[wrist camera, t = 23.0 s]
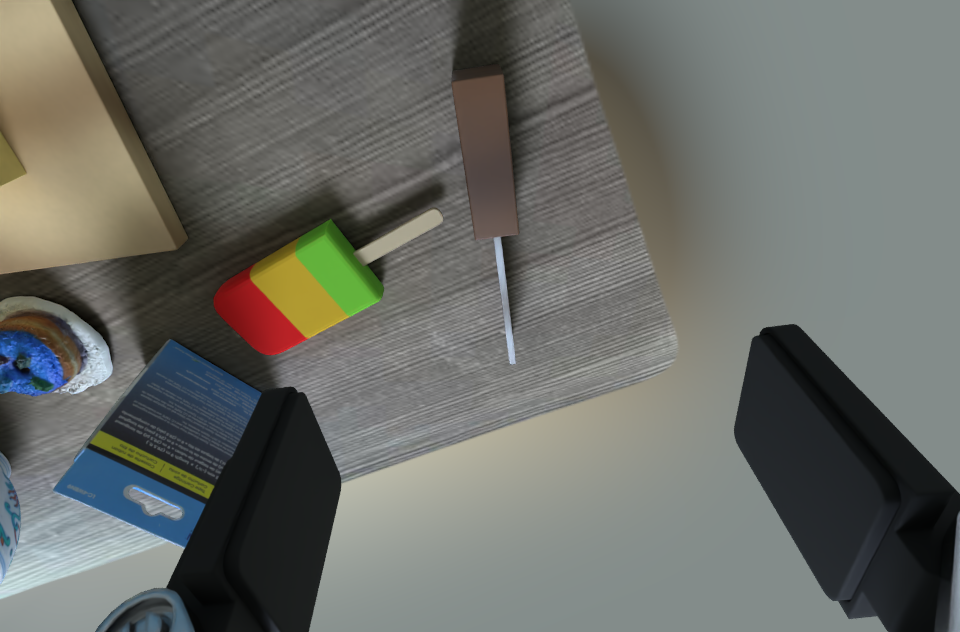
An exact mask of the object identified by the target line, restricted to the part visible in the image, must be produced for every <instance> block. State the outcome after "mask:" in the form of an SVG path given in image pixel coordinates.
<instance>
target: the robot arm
mask: <svg viewBox="0 0 960 632" xmlns="http://www.w3.org/2000/svg"><path fill="white" fill-rule="evenodd" d="M734 435H735V439H736V442H737V444H738V446H739V448H740V450H741V452H742V453H743V455H744V457H745V458H746V460H747V462H748V463H749V465H750V467H751V469H752V470H753V472H754V474H755V475H756V477H757V479H758V481H759V482H760V484H761V486H762V487H763V489H764V491H765V492H766V494H767V496H768V497H769V499H770V501H771V503H772V504H773V506H774V508H775V509H776V511H777V513H778V514H779V516H780V518H781V520H782V521H783V523H784V525H785V526H786V528H787V530H788V532H789V533H790V535H791V536H792V538H793V540H794V542H795V543H796V545H797V547H798V548H799V550H800V552H801V553H802V555H803V557H804V559H805V560H806V562H807V564H808V566H809V567H810V569H811V571H812V572H813V574H814V576H815V578H816V579H817V581H818V583H819V584H820V586H821V588H822V589H823V591H824V592H825V594H826V595H827V596H828V597H829V598H830V599H831V600H833V601H839V603H840V605H841V607H842V608H843V610H844V612H845V613H846V615H847V617H848V618H849V619H853V618H862V617H872V616H878V617H879V619H880V620H881V622H882V624H883V625H884V627H885V628H886V630H887V631H888V632H960V494H959V493H958V492H957V491H956V490H955V489H954V487H952V485H951V484H950V483H949V482H948V481H947V480H946V479H945V478H944V477H943V476H942V475H941V474H940V473H939V472H938V471H937V470H936V469H935V468H934V467H933V465H932V464H931V463H930V462H929V461H928V460H927V459H926V458H925V457H924V456H923V455H922V454H921V453H920V452H919V451H918V450H917V449H916V448H915V447H914V446H913V445H912V444H911V442H909V440H908V439H907V438H906V437H905V436H904V435H903V434H902V433H901V432H900V431H899V430H898V429H897V428H896V427H895V426H894V425H893V424H892V423H891V422H890V421H889V419H888V418H887V417H885V415H884V414H883V413H882V412H881V411H880V410H879V409H878V408H877V407H876V406H875V405H874V404H873V403H872V402H871V401H870V400H869V399H868V398H867V397H866V396H865V394H863V392H862V391H860V390H859V389H858V388H857V387H856V386H855V384H854V383H853V382H852V381H851V380H849V378H848V377H847V376H846V375H845V374H844V373H843V372H842V371H841V370H840V369H839V368H838V367H837V366H836V365H835V364H834V362H833V361H832V360H831V359H830V358H829V357H828V356H827V355H826V354H825V353H824V352H823V351H822V350H821V349H820V348H819V347H818V346H817V345H816V344H815V343H814V342H813V341H812V339H810V337H809V336H808V335H807V334H806V333H805V332H804V331H803V330H802V329H801V328H800V327H799V326H797V325H794V324H790V325H782V326H775V327H766V328H763V329H762V331H761V332H760V335H759V336H755V337H754V338H753V339H752V342H751V347H750V352H749V357H748V362H747V367H746V372H745V377H744V382H743V387H742V391H741V397H740V401H739V406H738V411H737V416H736V421H735V426H734ZM340 491H341V477H340V473H339V471H338V469H337V466H336V464H335V462H334V459H333V457H332V455H331V452H330V450H329V448H328V445H327V443H326V441H325V439H324V436H323V434H322V432H321V429H320V427H319V425H318V422H317V420H316V418H315V415H314V413H313V411H312V408H311V406H310V404H309V402H308V399H307V397H306V395H305V394H304V393H303V392H299V393H298V392H297V390H296V389H295V388H294V387H284V388H276V389H268V390H265V391H263V393H262V394H261V396H260V398H259V400H258V402H257V405H256V407H255V409H254V411H253V413H252V415H251V417H250V420H249V422H248V424H247V426H246V428H245V430H244V432H243V434H242V437H241V439H240V441H239V443H238V445H237V447H236V449H235V452H234V454H233V456H232V458H230V459H229V460H228V461H227V462H226V464H225V465H224V467H223V469H222V471H221V473H220V475H219V477H218V480H217V482H216V484H215V486H214V488H213V490H212V492H211V494H210V496H209V499H208V501H207V503H206V505H205V507H204V509H203V511H202V513H201V515H200V517H199V520H198V522H197V524H196V526H195V528H194V530H193V532H192V534H191V536H190V539H189V541H188V543H187V545H186V547H185V549H184V551H183V553H182V555H181V558H180V560H179V562H178V564H177V566H176V568H175V570H174V572H173V574H172V576H171V579H170V581H169V583H168V585H167V587H166V588H154V589H151V590H147V591H144V592H141V593H139V594H137V595H135V596H133V597H132V598H130V599H128V600H126V601H125V602H124V603H122V604H121V605H120V606H118V607H117V608H116V609H115V610H114V611H112V612H111V613H110V614H109V615H108V617H107V618H106V619H105V620H104V621H103V622H102V623H101V624H100V625H99V626H98V628H97V630H96V631H95V632H309V628H310V624H311V619H312V615H313V610H314V606H315V602H316V597H317V593H318V588H319V584H320V580H321V575H322V570H323V566H324V562H325V558H326V553H327V549H328V544H329V540H330V536H331V531H332V526H333V522H334V518H335V514H336V509H337V505H338V500H339V496H340Z"/></svg>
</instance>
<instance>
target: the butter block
mask: <svg viewBox="0 0 960 632" xmlns="http://www.w3.org/2000/svg"><path fill="white" fill-rule="evenodd" d="M26 174H27V173H26V171H25V170H24V168H23V166H22V165H21V163H20V162H19V160H18V159H17V157H16V155H15V154H14V152H13V151H12V149H11V148H10V146H9V144H8V143H7V141H6V140H5V138H4V136H3V135H2V133H1V132H0V187H1V186H3V185H5V184H7V183H9V182H11V181H13V180H16V179H18V178H20V177H22V176H24V175H26Z"/></svg>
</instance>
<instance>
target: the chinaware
mask: <svg viewBox="0 0 960 632" xmlns="http://www.w3.org/2000/svg"><path fill="white" fill-rule="evenodd" d="M10 475H11V466H10V464H9V461H8V460H7V458H6V457H5V456H4V455H3V454H2V453H1V452H0V584H1V583H2V581H3V579H4V577H5V575H6V573H7V571H8V568H9V566H10V564H11V562H12V559H13V556H14V554H15V551H16V547H17V544H18V540H19V535H20V528H21V512H20V505H19V500H18V497H17V494H16V491H15V489H14V487H13V485H12V483H11V481H10V480H9V478H10Z"/></svg>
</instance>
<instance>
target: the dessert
mask: <svg viewBox="0 0 960 632" xmlns="http://www.w3.org/2000/svg"><path fill="white" fill-rule="evenodd" d="M112 369H113V366H112V362H111V357H110V353H109V348H108V346H107V345H106V342H105V341H104V340H103V337H101V336H100V334H99V333H98V332H96V330H94V329H93V328H92V327H91V326H90V325H89V324H87V323H86V322H84V321H83V320H82V319H80V318H79V317H78V316H77V315H75V314H74V313H73V312H70V311H69V310H68V309H66V308H64V307H63V306H61V305H59V304H56V303H53V302H50V301H46V300H42V299H40V298H36V297H34V296H28V297H25V296H17V297H10V298H6V299H4V300H2V301H1V302H0V393H2V394H3V393H6V392H9V391H14V392H17V393H22V394H27V395H31V396H38V395H42V394H47V393H52V392H53V393H54V392H59V394H62V393H66V392H70V393H72V395H73V394H76V393H80V392H82V391H84V390H85V389H86V388H88V387H89V386H92V385H94V386H95V385H97V384H100V383H101V382H103V381H104V380H106V379H107V378H108V377H109V376H110V375H111V373H112ZM72 395H71V396H72Z"/></svg>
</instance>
